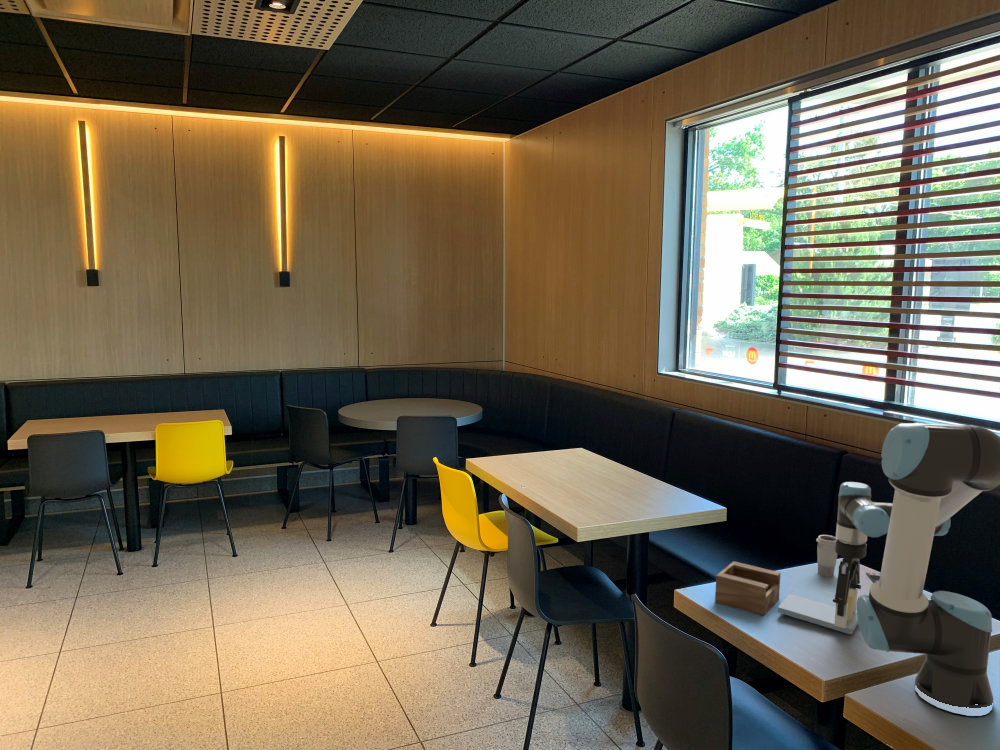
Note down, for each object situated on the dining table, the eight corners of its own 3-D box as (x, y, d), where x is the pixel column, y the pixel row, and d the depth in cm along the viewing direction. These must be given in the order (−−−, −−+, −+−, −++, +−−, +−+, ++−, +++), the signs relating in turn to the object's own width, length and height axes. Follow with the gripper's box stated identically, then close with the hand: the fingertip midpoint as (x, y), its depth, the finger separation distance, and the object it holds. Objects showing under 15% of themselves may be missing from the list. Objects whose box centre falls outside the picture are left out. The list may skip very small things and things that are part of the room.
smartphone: (892, 576, 238) (892, 572, 238) (910, 595, 223) (910, 592, 223) (865, 574, 239) (865, 571, 239) (881, 593, 224) (881, 589, 224)
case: (763, 615, 207) (765, 587, 206) (714, 602, 216) (716, 575, 215) (778, 599, 219) (780, 572, 217) (732, 586, 227) (733, 561, 226)
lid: (851, 634, 195) (854, 604, 194) (777, 612, 206) (780, 583, 205) (860, 619, 204) (863, 590, 203) (789, 598, 215) (792, 571, 214)
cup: (842, 576, 237) (845, 539, 235) (828, 580, 233) (831, 543, 232) (822, 568, 243) (825, 533, 241) (809, 572, 239) (811, 536, 238)
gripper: (856, 556, 187) (850, 638, 189) (875, 531, 205) (869, 607, 208) (825, 549, 191) (819, 630, 194) (846, 526, 210) (840, 600, 212)
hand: (845, 618), depth 201 cm, fingers closed on lid, 11 cm apart
